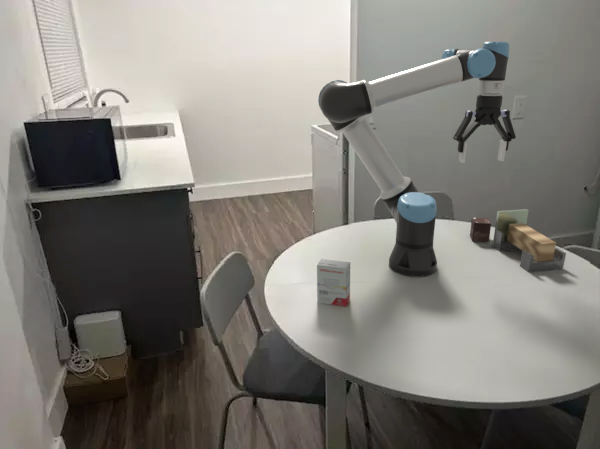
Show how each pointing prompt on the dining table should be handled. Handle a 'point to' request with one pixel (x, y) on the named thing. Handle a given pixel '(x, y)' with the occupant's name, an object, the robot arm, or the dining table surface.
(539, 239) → the light wood long block
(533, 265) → the rest saddle
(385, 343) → the dining table surface
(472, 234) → the box
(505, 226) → the cup bracket
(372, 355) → the dining table surface
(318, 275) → the ink box
